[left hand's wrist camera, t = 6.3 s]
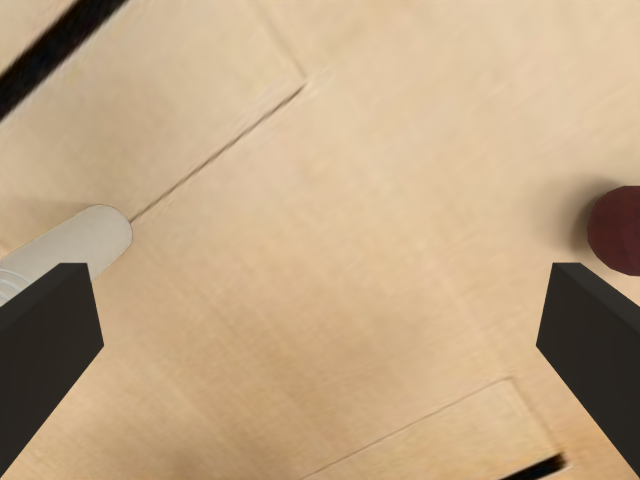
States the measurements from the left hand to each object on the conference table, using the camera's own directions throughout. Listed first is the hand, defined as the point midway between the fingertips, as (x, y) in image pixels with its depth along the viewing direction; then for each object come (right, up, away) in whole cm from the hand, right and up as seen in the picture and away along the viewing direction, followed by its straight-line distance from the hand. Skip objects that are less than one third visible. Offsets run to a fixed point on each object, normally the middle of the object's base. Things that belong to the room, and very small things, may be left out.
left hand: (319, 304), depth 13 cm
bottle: (-20, +3, +29) cm, 35 cm away
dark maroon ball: (+27, +4, +28) cm, 39 cm away
